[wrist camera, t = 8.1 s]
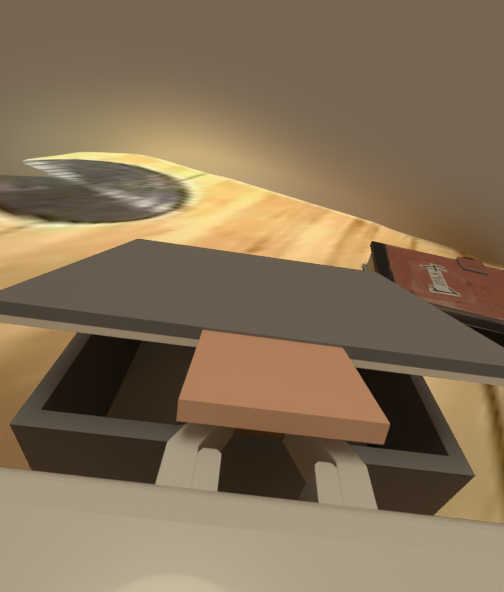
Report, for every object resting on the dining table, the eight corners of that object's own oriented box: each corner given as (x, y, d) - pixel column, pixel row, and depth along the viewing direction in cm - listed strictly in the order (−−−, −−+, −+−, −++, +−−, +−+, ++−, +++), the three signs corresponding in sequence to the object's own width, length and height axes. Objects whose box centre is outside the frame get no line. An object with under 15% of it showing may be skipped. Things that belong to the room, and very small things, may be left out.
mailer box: (51, 510, 18) (9, 424, 13) (142, 324, 31) (137, 250, 26) (402, 544, 19) (475, 475, 14) (345, 351, 32) (373, 283, 27)
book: (543, 308, 46) (567, 279, 43) (633, 405, 32) (677, 371, 29) (361, 266, 49) (372, 236, 46) (369, 337, 35) (386, 300, 32)
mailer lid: (-162, 386, 7) (-170, 353, 7) (137, 248, 26) (138, 238, 26) (668, 480, 8) (685, 455, 8) (374, 281, 27) (376, 272, 27)
